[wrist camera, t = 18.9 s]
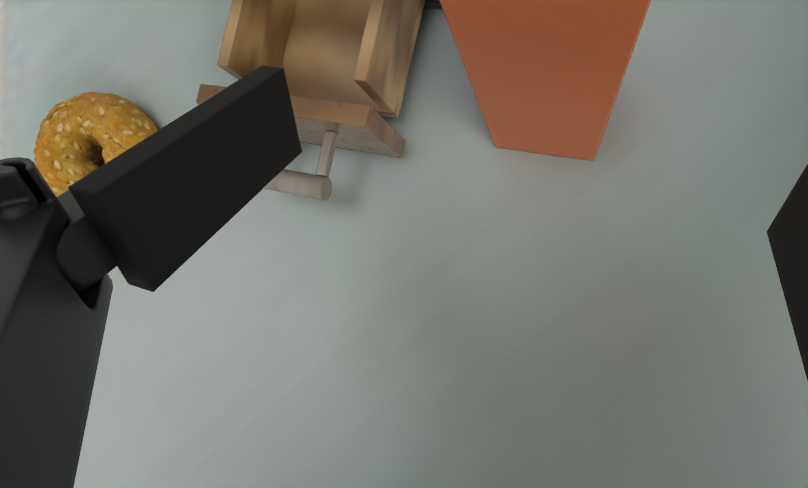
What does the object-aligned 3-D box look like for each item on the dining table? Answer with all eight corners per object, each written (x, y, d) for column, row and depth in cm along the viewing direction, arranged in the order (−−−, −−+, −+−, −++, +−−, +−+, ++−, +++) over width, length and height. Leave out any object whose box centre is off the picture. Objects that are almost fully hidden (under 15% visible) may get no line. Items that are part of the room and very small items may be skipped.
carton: (610, 80, 28) (690, -184, 12) (593, 161, 28) (651, -2, 12) (511, 71, 30) (470, -168, 14) (494, 147, 30) (434, -9, 14)
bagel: (91, 248, 39) (31, 243, 35) (70, 130, 41) (11, 111, 36) (184, 208, 37) (133, 196, 32) (158, 84, 39) (106, 57, 34)
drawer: (387, 218, 31) (348, 201, 25) (244, 189, 34) (179, 168, 28) (442, -25, 31) (417, -101, 25) (295, -29, 34) (242, -96, 28)
